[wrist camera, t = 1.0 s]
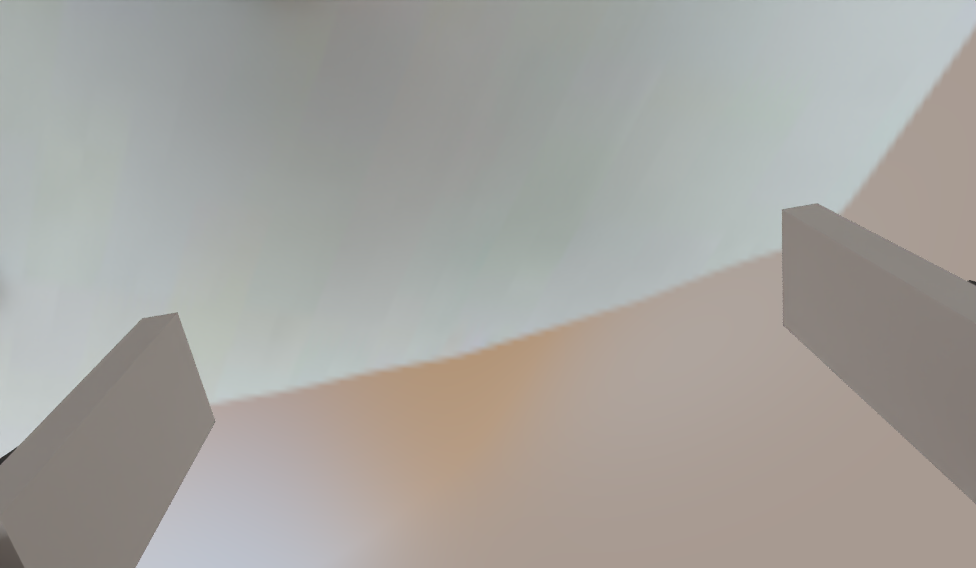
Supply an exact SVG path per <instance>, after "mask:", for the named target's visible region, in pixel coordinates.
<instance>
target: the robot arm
mask: <svg viewBox="0 0 976 568" xmlns="http://www.w3.org/2000/svg"><path fill="white" fill-rule="evenodd" d="M782 269H783V270H782V271H783V326H784V327H786V328H787V329H788V330H789V331H790V332H791V333H792V334H793V335H794V336H795V337H796V338H797V339H798V340H800V341H801V342H802V343H803V344H804V345H805V346H806V347H807V348H808V349H809V350H810V351H811V352H812V353H814V354H815V355H816V356H817V357H818V358H819V359H820V360H821V361H822V362H823V363H824V364H825V365H826V366H828V367H829V368H830V369H831V370H832V371H833V372H834V373H835V374H836V375H837V376H838V377H839V378H840V379H842V380H843V381H844V382H845V383H846V384H847V385H848V386H849V387H850V388H851V389H852V390H853V391H855V392H856V393H857V394H858V395H859V396H860V397H861V398H862V399H863V400H864V401H865V402H866V403H867V404H868V405H870V406H871V407H872V408H873V409H874V410H875V411H876V412H877V413H878V414H879V415H881V417H882V418H884V419H885V420H886V421H887V422H888V423H889V424H890V425H891V426H892V427H893V428H894V429H895V430H896V431H898V432H899V433H900V434H901V435H902V436H903V437H904V438H905V439H906V440H907V441H908V442H909V443H911V444H912V445H913V446H914V447H915V448H916V449H917V450H918V451H919V452H920V453H921V454H922V455H923V456H925V457H926V458H927V459H928V460H929V461H930V462H931V463H932V464H933V465H934V466H935V467H936V468H937V469H939V470H940V471H941V472H942V473H943V474H944V475H945V476H946V477H947V478H948V479H949V480H950V481H951V482H953V483H954V484H955V485H956V486H957V487H958V488H959V489H960V490H961V491H962V492H963V493H964V494H966V495H967V496H968V497H969V498H970V499H971V500H972V501H973V502H974V503H975V504H976V282H975V281H971V280H969V281H966V280H964V279H962V278H960V277H958V276H956V275H954V274H952V273H950V272H948V271H947V270H944V269H943V268H941V267H939V266H937V265H935V264H933V263H931V262H929V261H927V260H925V259H923V258H921V257H919V256H918V255H916V254H914V253H912V252H910V251H908V250H906V249H904V248H902V247H900V246H898V245H896V244H895V243H893V242H891V241H889V240H887V239H885V238H883V237H881V236H879V235H877V234H875V233H873V232H871V231H869V230H867V229H866V228H864V227H862V226H860V225H858V224H856V223H854V222H852V221H850V220H848V219H846V218H844V217H842V216H841V215H839V214H837V213H835V212H833V211H831V210H829V209H827V208H825V207H823V206H821V205H819V204H811V205H805V206H799V207H793V208H788V209H782ZM214 423H215V419H214V416H213V413H212V410H211V407H210V405H209V402H208V399H207V396H206V393H205V390H204V387H203V384H202V382H201V379H200V376H199V373H198V370H197V367H196V364H195V361H194V359H193V356H192V353H191V350H190V347H189V344H188V341H187V338H186V335H185V333H184V330H183V327H182V324H181V321H180V318H179V315H178V312H177V313H171V314H165V315H159V316H154V317H148V318H142V319H141V320H140V321H139V322H138V323H137V324H136V325H135V326H134V327H133V329H132V330H131V331H130V332H129V333H128V334H127V335H126V336H125V337H124V338H123V339H122V340H121V341H120V342H119V343H118V344H117V345H116V346H115V347H114V348H113V349H112V350H111V351H110V352H109V353H108V354H107V355H106V356H105V357H104V358H103V360H102V361H101V362H100V363H99V364H98V365H97V366H96V367H95V368H94V369H93V370H92V371H91V372H90V373H89V374H88V375H87V376H86V377H85V378H84V379H83V380H82V381H81V382H80V383H79V384H78V385H77V386H76V387H75V388H74V389H73V390H72V392H71V393H70V394H69V395H68V396H67V397H66V398H65V399H64V400H63V401H62V402H61V403H60V404H59V405H58V406H57V407H56V408H55V409H54V410H53V411H52V412H51V413H50V414H49V415H48V416H47V417H46V418H45V419H44V420H43V421H42V423H41V424H40V425H39V426H38V427H37V428H36V429H35V430H34V431H33V432H32V433H31V434H30V435H29V436H28V437H27V438H26V439H25V440H24V441H23V442H22V443H21V444H20V445H19V446H18V447H17V448H15V449H14V450H12V451H11V452H9V453H8V454H6V455H5V456H3V457H2V458H0V568H135V567H136V566H137V564H138V562H139V560H140V558H141V556H142V555H143V553H144V551H145V549H146V547H147V546H148V544H149V542H150V540H151V538H152V536H153V535H154V533H155V531H156V529H157V527H158V526H159V524H160V522H161V520H162V518H163V516H164V515H165V513H166V511H167V509H168V507H169V505H170V504H171V502H172V500H173V498H174V496H175V495H176V493H177V491H178V489H179V487H180V485H181V484H182V482H183V479H184V478H185V476H186V474H187V472H188V471H189V469H190V467H191V465H192V463H193V462H194V460H195V458H196V456H197V454H198V452H199V451H200V449H201V447H202V445H203V443H204V442H205V440H206V438H207V436H208V434H209V433H210V431H211V429H212V427H213V425H214Z"/></svg>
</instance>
